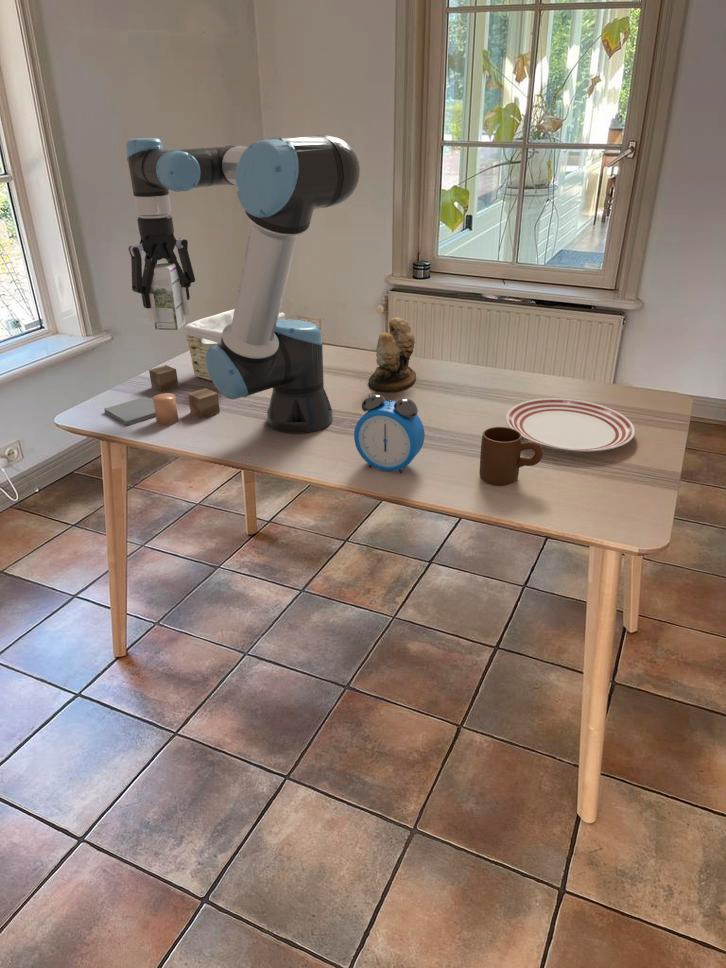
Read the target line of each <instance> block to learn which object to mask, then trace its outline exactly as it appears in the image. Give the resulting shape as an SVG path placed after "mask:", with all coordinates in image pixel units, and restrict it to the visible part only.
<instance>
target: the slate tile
mask: <svg viewBox="0 0 726 968" xmlns="http://www.w3.org/2000/svg"><path fill="white" fill-rule="evenodd" d="M105 412H106V413H105ZM104 413H105V414H106V415H108V414H109V415H108V416H110V417H112V418H113V417H114V418H113V419H116V420H117V421H118V422H120V423H122V424H124V425H126V426H129V425H133V424H136V423H140V422H142V421H145V420H149V419H152V418H156V415H155V408H154V402H153V399H151V398H150V397H148V396H143V397H140V398H135V399H133V400H129V401H125V402H122V403H119V404H116V405H112V406H109V407H105V408H104Z"/></svg>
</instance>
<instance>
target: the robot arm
mask: <svg viewBox="0 0 726 968" xmlns="http://www.w3.org/2000/svg"><path fill="white" fill-rule="evenodd" d="M125 145H126V147H125V148H126V154H127V156H126V160H127V164H128V170H129V174H130V181H131V182H130V183H131V187H132V192H133V200H134V201H133V202H134V206H135V214H136V215H138V216H139V217H138V218H137V220H136V221H137V226H138V233H139V235H140V241H139V244H136V245H133V246H132V245H129V246H128V252H129V255H130V257H131V258H130V261H131V262H130V263H131V290H132V292H134V293H137V294H140V295H141V300H142V305H143V308H145V309H146V311H147V316H148V317H147V319H148V321H149V322H151V323H157V322H158V321H157V314H156V308H155V301H154V294H152V293H150V289H151V284H152V279H153V274H154V269H155V265H156V264H157V263H158V261H160V260H162V259H165V261H166V263H173V264H174V263H175V265H176V270H177V273H178V276H179V281H180V289H181V297H182V305H183V312H184V316H189V315H190V312H189V305H188V301H189V300H190V298H191V297H190V289H189V288H190V287H191V286H192V285H191V284H193V283H195V282H196V278H195V273H194V270H193V267H192V266H193V265H192V262H191V258H190V255H189V251H188V246H189V245H188V244H189V243H188V241H189V240H187V239H185V238H176V237H175V235H174V232H175V228H174V221H173V217H172V216H171V215H170V214H171V213H172V205H171V200H170V199H171V198H170V192H169V190H170V191H173V192H176V193H177V192H189V191H192V190H193V189H196V188H197V189H198V188H206V187H213V186H215V187H216V186H236V187H237V188H238V190H237V191H236V194H237V198H238V200H239V202H240V205H241V206H242V208H243V209H244V214H245V216H246V218H247V219H248V220H249V222H250V226H249V232H248V237H247V242H246V248H245V252H244V253H245V254H244V259H243V264H242V268H241V273H240V279H239V284H238V285H239V286H238V290H237V295H236V300H235V301H236V302H235V306H234V309H235V310H234V316H233V321H232V323H230V324H228V325H227V326H226V327H225V328H224V330H223V333H222V338H221V343H220V344H219V345H214V346H212V347H210V348H209V349H208V350H207V353H206V365H207V369H208V372H209V375H210V377H211V380H210V381H212V384H213V385H214V387H215V388H216V389H217V391H218V392H219V393H220V394H221V395H222V396H224V397H225V398H227V399H229V400H236V399H240V398H247V397H248V396H252V395H255V394H259V393H261V392H264V391H266V390H270V389H272V392H271V397H270V401H269V406H268V409H267V411H266V415H267V417H266V418H267V424H268V426H269V427H271V428H272V429H274V430H276V431H279V432H282V433H289V434H307V433H311V432H312V433H313V432H316V431H320V430H323V429H325V428H327V427H329V426H330V425H331V423H332V422H333V418H334V414H333V408H332V406H331V403H330V400H329V397H328V394H327V392H326V389H325V384H324V383H325V382H324V359H323V354H324V353H323V345H324V343H323V340H322V332H321V328H320V326H318V325H317V324H316V323H313V322H309V321H306V320H300V319H299V320H298V319H289V318H288V319H286V318H285V319H283V320H278V316H279V312H280V310H281V307H282V303H283V299H284V295H285V291H286V287H287V282H288V278H289V274H290V271H291V266H292V262H293V259H294V254H295V248H296V245H297V241H298V238H299V237H298V236H300V235H302V234H304V233H306V232H307V231H308V230H309V228H310V225H311V220H312V217H313V213H314V210H319V209H323V208H329V207H335V206H337V205H339V204H342V203H344V202H346V200H348V199H349V198H350V197H351V196H352V195H353V193H354V192H355V190H356V189H357V186H358V185H359V184H358V183H359V179H360V175H361V173H360V172H361V171H360V170H361V168H360V162H359V159H358V157H357V154H356V152H355V150H354V149H353V148H352V146H350V145H349V143H347V142H346V141H345V140H344V139H341V138H339V137H336V136H332V135H315V136H301V137H288V138H287V137H285V138H284V137H277V136H276V137H275V136H274V137H270V138H266V139H261V140H257V141H255V142H253V143H251V144H249V145H248V146H243V145H234V144H233V145H224V146H215V147H201V148H199V147H198V148H184V149H164V146H163V142H162V141H161V139H160V138H157V137H141V138H140V137H137V138H129V139H128V140H127V141H126V144H125ZM175 247H176V249H177V252H178V256H179V260H180V263H179V261H178V258H177V256H176V254H175V252H174V249H175ZM143 253H145V254H144V255H145V256H144V265H143V260H142V259H143V258H142V255H143ZM180 264H181V265H180ZM143 266H144V267H143Z"/></svg>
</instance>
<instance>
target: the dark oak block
mask: <svg viewBox="0 0 726 968" xmlns="http://www.w3.org/2000/svg"><path fill="white" fill-rule="evenodd" d="M148 372H149V378H150V385H151V388H152V389H154V390H156V391H157V392H160V393H167V392H169V391H172V390H176V389H179V388H180V386H179V379H178V372H177V369H176V368H174V367H171V366H170V365H166V364H165V365H161V366H157V367H154V368H150V369H148Z"/></svg>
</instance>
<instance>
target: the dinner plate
mask: <svg viewBox="0 0 726 968" xmlns="http://www.w3.org/2000/svg"><path fill="white" fill-rule="evenodd" d="M505 421H506V423H507V425H508V428H511V429H514V430H517V431H518V432H520V434H521V436H522V438H523V439H525V440H527V441H533V442H536V443H538V444H539V445H540V446H541V447H545V448H549V449H553V450H557V451H563V452H564V451H565V452H573V453H589V452H602V451H607V450H609V451H610V450H612V449H617V448H620V447H622V446H624V445H626V444H628V443H629V442H631V440H633V438H634V437H635V433H636V428H635V426H634V424H633V423H632V422H631V420H630V419H628V417H626V416H625V415H623V413H621V412H618V411H617V410H614V409H612V408H609V407H607V406H605V405H601V404H597V403H594V402H589V401H585V400H578V399H573V398H561V397H560V398H559V397H557V398H556V397H555V398H554V397H552V398H549V397H548V398H545V397H544V398H535V399H530V400H527V401H523V402H520V403H518V404H515V405H514V406H512V407H511V408H510V409H509V410H508V411H507V413H506V415H505Z"/></svg>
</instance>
